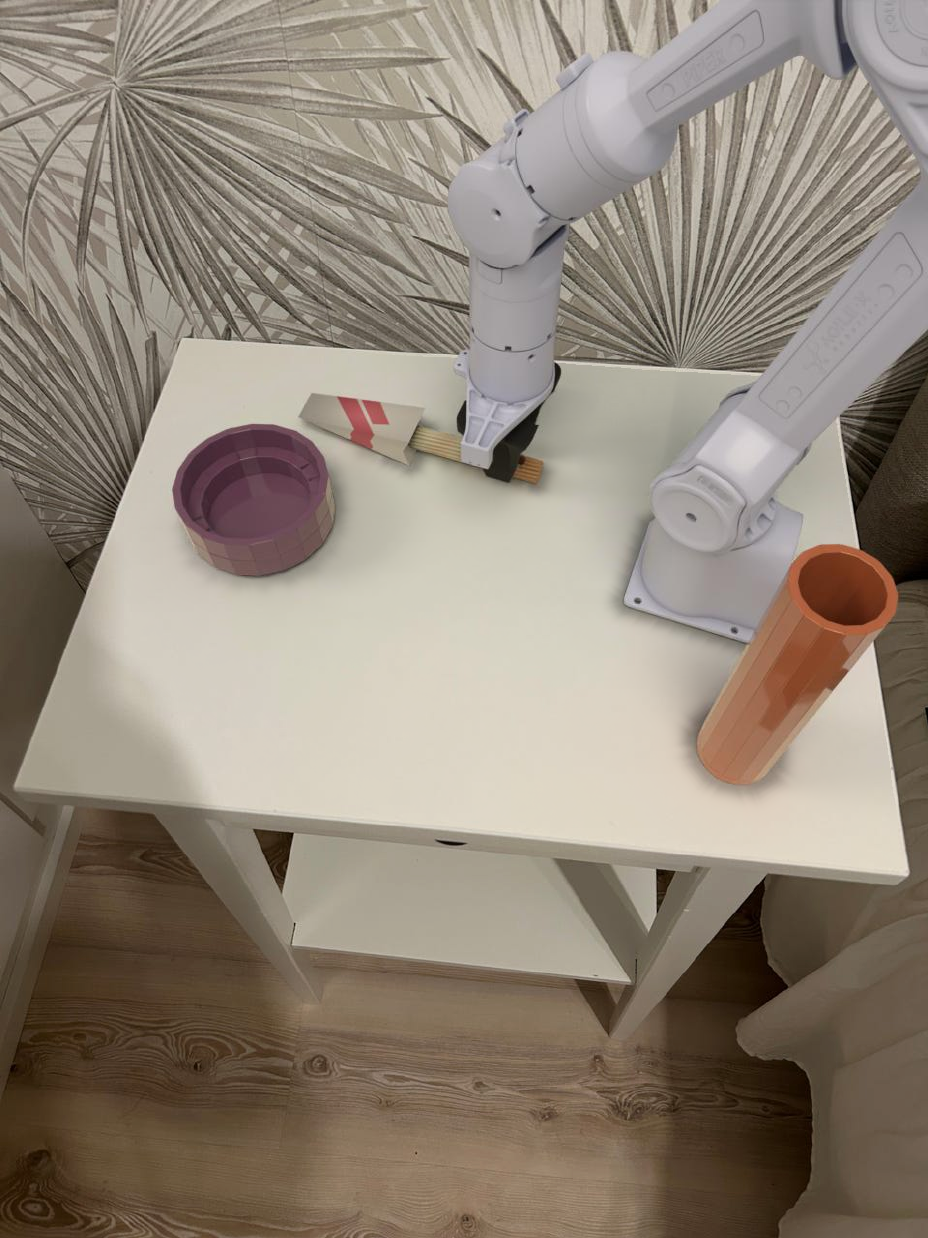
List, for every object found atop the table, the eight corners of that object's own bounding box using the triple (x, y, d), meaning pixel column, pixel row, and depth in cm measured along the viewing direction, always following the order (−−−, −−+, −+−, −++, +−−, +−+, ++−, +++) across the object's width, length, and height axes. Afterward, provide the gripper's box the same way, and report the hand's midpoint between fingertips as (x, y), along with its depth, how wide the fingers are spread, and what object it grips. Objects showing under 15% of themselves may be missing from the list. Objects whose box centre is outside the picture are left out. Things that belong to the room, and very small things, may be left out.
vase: (779, 728, 60) (904, 561, 42) (765, 796, 57) (890, 648, 40) (706, 704, 61) (798, 531, 43) (688, 770, 58) (779, 614, 41)
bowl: (359, 484, 70) (352, 446, 67) (296, 598, 65) (284, 564, 61) (233, 447, 73) (219, 407, 69) (162, 554, 67) (143, 518, 63)
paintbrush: (312, 374, 72) (549, 443, 69) (316, 398, 75) (544, 466, 72) (292, 408, 70) (534, 480, 68) (296, 431, 73) (530, 502, 70)
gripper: (493, 239, 62) (490, 382, 74) (414, 382, 55) (424, 514, 67) (590, 262, 61) (571, 404, 73) (521, 411, 54) (513, 541, 66)
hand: (506, 458), depth 70 cm, fingers open, 3 cm apart
